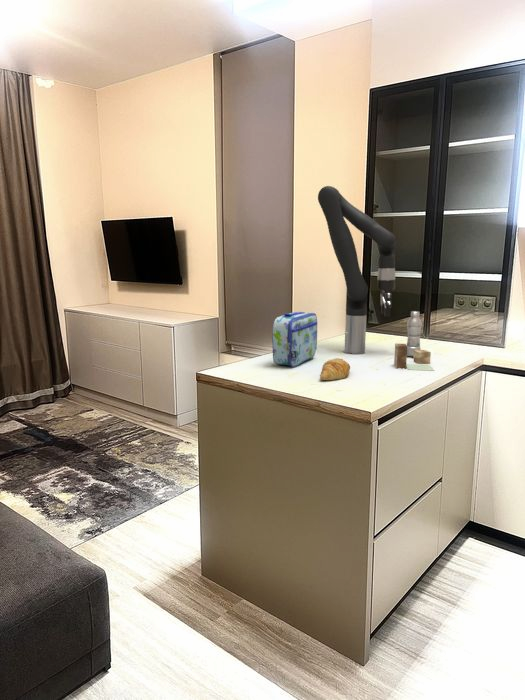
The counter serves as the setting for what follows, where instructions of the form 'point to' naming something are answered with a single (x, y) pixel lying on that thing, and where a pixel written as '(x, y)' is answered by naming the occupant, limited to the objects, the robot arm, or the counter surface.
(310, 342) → the lunch box
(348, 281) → the robot arm
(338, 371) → the croissant
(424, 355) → the oak block
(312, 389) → the counter surface
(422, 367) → the pad
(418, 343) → the plastic bottle
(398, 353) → the walnut block
